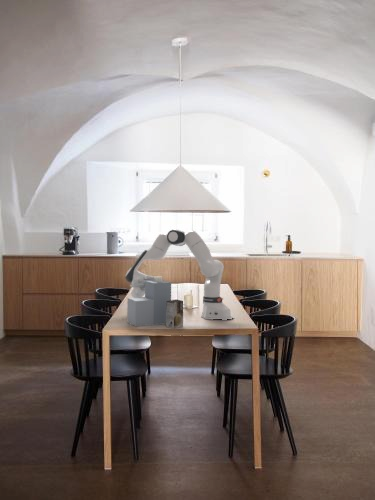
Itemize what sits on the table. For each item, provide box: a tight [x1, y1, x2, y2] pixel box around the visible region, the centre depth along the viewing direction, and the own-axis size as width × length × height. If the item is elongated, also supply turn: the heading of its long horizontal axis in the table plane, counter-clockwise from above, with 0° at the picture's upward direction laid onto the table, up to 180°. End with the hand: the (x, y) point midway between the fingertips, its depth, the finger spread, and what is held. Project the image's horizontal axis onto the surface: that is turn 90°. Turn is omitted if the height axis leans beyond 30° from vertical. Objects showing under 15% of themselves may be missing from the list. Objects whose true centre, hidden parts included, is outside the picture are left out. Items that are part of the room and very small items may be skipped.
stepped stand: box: [126, 280, 172, 327], centre depth 310 cm, size 14×24×26 cm, turn 118°
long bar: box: [146, 274, 164, 282], centre depth 317 cm, size 20×4×4 cm, turn 28°
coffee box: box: [165, 299, 184, 329], centre depth 299 cm, size 9×6×16 cm
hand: (150, 277), depth 323 cm, fingers open, 8 cm apart
